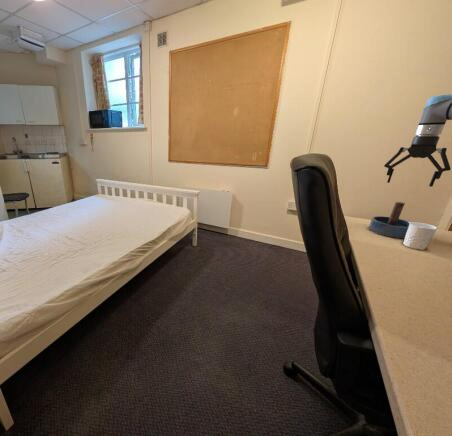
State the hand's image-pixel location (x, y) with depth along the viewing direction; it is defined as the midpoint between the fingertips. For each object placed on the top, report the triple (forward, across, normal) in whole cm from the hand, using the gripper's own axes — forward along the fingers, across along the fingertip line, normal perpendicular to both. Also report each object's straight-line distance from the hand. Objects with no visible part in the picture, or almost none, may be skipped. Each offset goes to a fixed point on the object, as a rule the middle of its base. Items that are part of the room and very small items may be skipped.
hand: (408, 184), depth 102 cm
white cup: (+25, +8, -13) cm, 29 cm away
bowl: (+25, 0, 0) cm, 25 cm away
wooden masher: (+24, 0, 0) cm, 24 cm away
